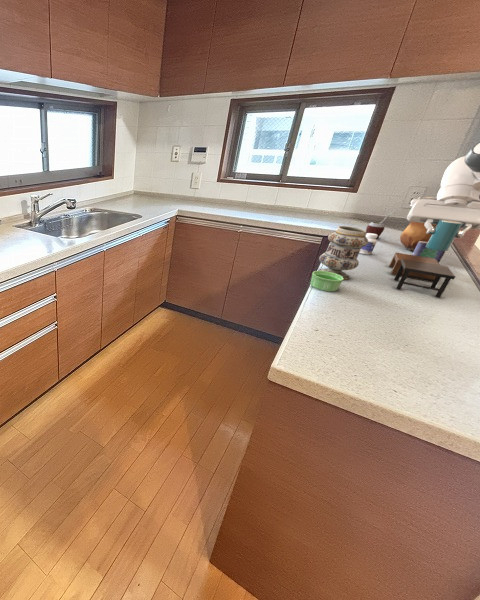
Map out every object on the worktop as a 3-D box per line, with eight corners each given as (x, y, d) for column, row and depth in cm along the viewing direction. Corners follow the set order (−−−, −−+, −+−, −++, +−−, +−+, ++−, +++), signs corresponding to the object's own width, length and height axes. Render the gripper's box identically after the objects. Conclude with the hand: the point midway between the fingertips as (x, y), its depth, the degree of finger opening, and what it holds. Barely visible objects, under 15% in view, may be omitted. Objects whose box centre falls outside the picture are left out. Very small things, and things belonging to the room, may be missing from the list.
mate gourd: (361, 235, 179) (373, 207, 173) (379, 237, 176) (391, 209, 170) (365, 238, 173) (377, 210, 167) (383, 240, 170) (396, 211, 164)
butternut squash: (396, 244, 164) (420, 193, 153) (432, 251, 156) (461, 197, 144) (393, 250, 155) (419, 196, 144) (432, 257, 147) (462, 200, 135)
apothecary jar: (359, 282, 119) (381, 234, 110) (323, 279, 120) (342, 231, 112) (341, 270, 129) (360, 225, 121) (309, 267, 131) (325, 223, 123)
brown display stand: (428, 273, 129) (435, 258, 126) (433, 282, 120) (441, 267, 117) (388, 266, 135) (395, 252, 132) (390, 274, 126) (398, 259, 124)
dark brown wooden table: (435, 287, 116) (447, 266, 112) (442, 298, 107) (455, 276, 104) (392, 278, 122) (402, 258, 119) (394, 289, 114) (405, 267, 110)
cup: (446, 248, 109) (461, 221, 105) (449, 252, 105) (465, 224, 101) (424, 245, 112) (438, 218, 107) (426, 248, 108) (441, 221, 104)
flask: (409, 261, 140) (421, 237, 135) (407, 260, 142) (419, 236, 138) (438, 266, 136) (452, 241, 131) (436, 264, 138) (449, 240, 133)
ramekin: (307, 280, 119) (311, 268, 117) (336, 285, 116) (341, 273, 114) (309, 288, 112) (314, 277, 110) (341, 294, 109) (346, 282, 107)
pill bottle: (370, 255, 147) (379, 236, 143) (356, 252, 150) (364, 234, 146) (371, 252, 151) (379, 234, 147) (357, 250, 154) (365, 232, 150)
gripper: (416, 190, 111) (406, 224, 108) (505, 197, 100) (496, 235, 98) (409, 202, 116) (398, 234, 114) (492, 210, 105) (483, 246, 103)
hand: (444, 234), depth 106 cm, fingers closed on cup, 5 cm apart
